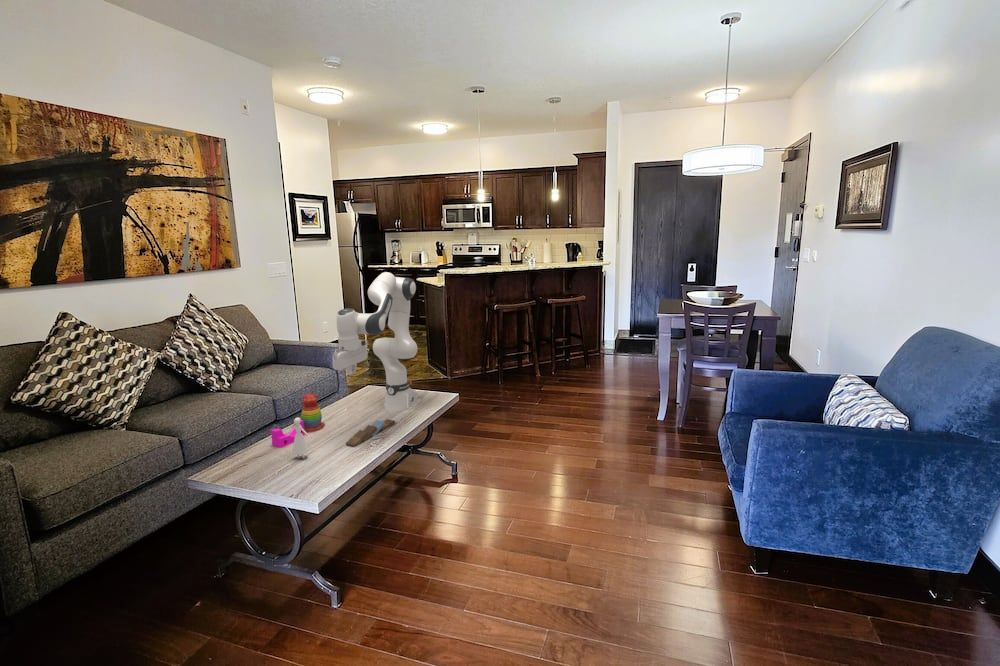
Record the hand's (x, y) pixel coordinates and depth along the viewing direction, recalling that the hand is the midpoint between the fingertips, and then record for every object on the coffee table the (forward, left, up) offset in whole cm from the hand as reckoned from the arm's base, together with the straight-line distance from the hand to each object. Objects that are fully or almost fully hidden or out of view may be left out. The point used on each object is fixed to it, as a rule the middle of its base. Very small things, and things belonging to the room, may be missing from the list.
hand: (352, 374), depth 218 cm
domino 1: (+11, +5, -30) cm, 32 cm away
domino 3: (-2, +5, -30) cm, 30 cm away
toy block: (+14, -26, -31) cm, 43 cm away
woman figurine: (+27, -7, -31) cm, 42 cm away
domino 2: (+5, +5, -30) cm, 31 cm away
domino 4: (-9, +6, -29) cm, 31 cm away
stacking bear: (-1, -27, -31) cm, 41 cm away
